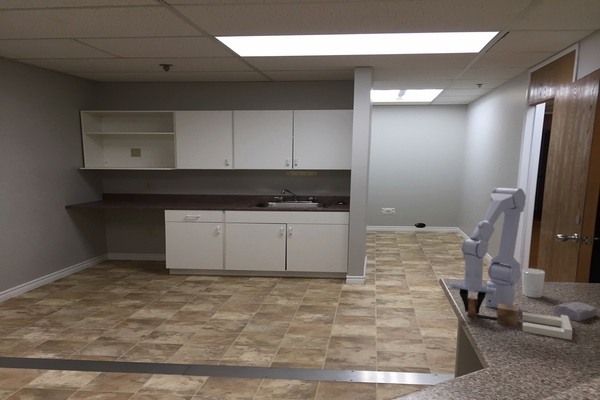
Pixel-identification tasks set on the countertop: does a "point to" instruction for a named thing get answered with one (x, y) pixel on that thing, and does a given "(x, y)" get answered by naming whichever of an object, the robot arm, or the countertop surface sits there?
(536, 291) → the white cup
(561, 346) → the countertop surface
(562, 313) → the stone block
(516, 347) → the countertop surface
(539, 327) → the frame
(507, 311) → the string block
